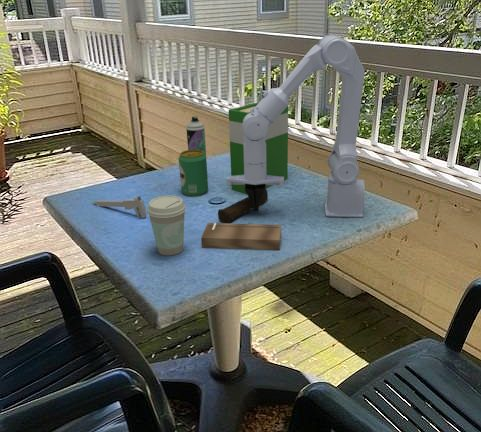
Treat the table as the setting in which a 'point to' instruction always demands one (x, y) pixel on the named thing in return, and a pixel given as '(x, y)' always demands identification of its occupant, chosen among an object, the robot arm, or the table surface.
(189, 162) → the green can
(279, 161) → the hardback book
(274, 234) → the walnut board
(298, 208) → the table surface
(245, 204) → the dark brown rod
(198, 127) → the spray can
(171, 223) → the coffee cup
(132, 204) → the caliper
